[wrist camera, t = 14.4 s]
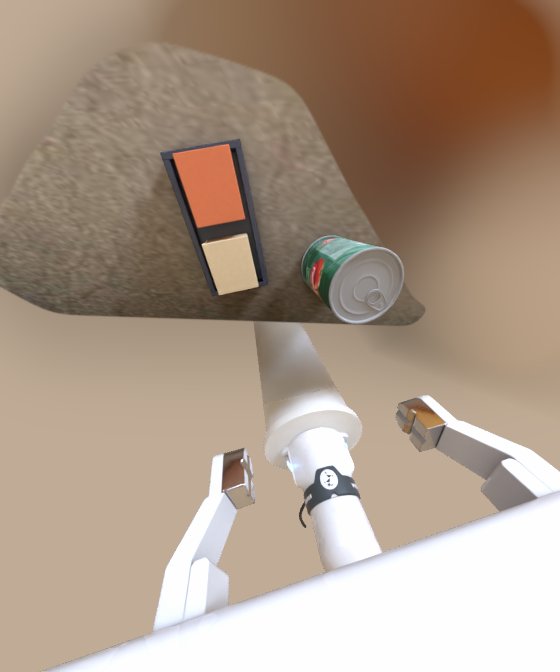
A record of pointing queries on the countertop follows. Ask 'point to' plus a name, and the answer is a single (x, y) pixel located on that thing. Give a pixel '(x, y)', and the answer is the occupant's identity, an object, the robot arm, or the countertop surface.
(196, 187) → the orange block
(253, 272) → the cream block
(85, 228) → the countertop surface
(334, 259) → the canned tomato
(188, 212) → the frame
